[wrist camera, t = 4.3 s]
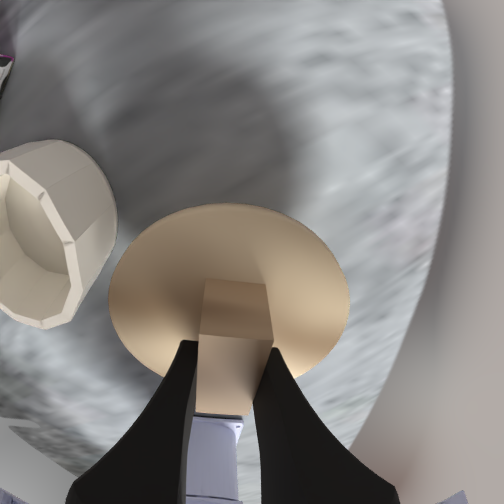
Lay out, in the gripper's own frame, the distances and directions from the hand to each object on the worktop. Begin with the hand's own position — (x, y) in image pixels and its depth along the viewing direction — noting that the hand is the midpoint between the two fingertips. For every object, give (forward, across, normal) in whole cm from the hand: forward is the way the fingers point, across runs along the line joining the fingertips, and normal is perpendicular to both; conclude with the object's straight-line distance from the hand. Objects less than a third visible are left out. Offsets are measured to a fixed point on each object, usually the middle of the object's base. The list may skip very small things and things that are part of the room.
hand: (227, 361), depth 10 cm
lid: (+2, 0, 0) cm, 3 cm away
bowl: (+7, +11, -2) cm, 13 cm away
